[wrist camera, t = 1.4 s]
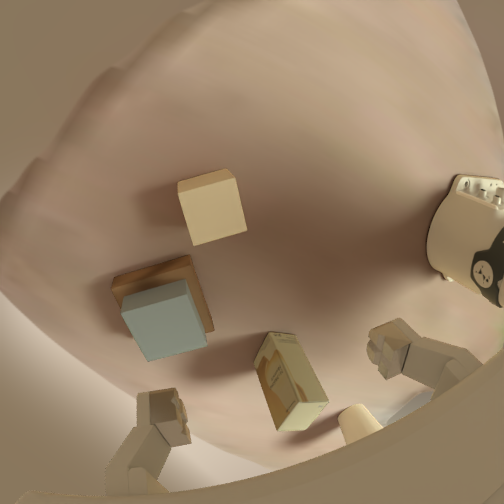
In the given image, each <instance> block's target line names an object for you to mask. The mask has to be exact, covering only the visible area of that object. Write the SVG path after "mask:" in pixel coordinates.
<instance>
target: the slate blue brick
mask: <svg viewBox="0 0 504 504" xmlns="http://www.w3.org/2000/svg"><path fill="white" fill-rule="evenodd" d="M121 315H122V317H123V319H124V321H125V323H126V325H127V326H128V328H129V330H130V332H131V334H132V335H133V337H134V339H135V341H136V343H137V344H138V346H139V348H140V349H141V351H142V353H143V355H144V356H145V358H146V360H147V361H148V362H149V361H153V360H157V359H161V358H165V357H169V356H173V355H177V354H180V353H184V352H188V351H192V350H195V349H199V348H202V347H206V346H208V345H207V340H206V335H205V329H204V327H203V324H202V321H201V319H200V316H199V314H198V311H197V309H196V306H195V303H194V301H193V298H192V295H191V293H190V290H189V287H188V285H187V282H186V279H182V280H179V281H176V282H172V283H169V284H165V285H162V286H158V287H155V288H152V289H148V290H145V291H141V292H138V293H134V294H131V295H128V296H124V298H123V303H122V308H121Z"/></svg>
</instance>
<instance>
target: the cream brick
mask: <svg viewBox="0 0 504 504" xmlns="http://www.w3.org/2000/svg"><path fill="white" fill-rule="evenodd" d="M178 197H179V200H180V204H181V207H182V210H183V214H184V217H185V220H186V223H187V227H188V230H189V233H190V236H191V239H192V243H193V246H197V245H200V244H203V243H207V242H210V241H213V240H217V239H220V238H224V237H227V236H231V235H234V234H238V233H241V232H245V231H247V227H246V222H245V218H244V213H243V209H242V205H241V200H240V196H239V192H238V187H237V183H236V179H235V177H234V176H233V175H232V174H231V173H230V172H229V171H228V170H227V169H222V170H218V171H214V172H211V173H207V174H203V175H200V176H196V177H193V178H189V179H186V180H182V181H179V182H178Z"/></svg>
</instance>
